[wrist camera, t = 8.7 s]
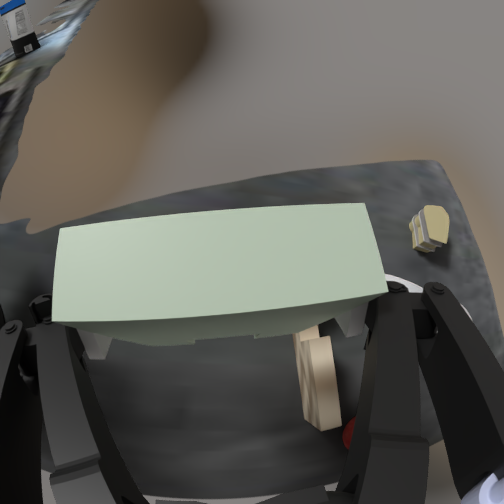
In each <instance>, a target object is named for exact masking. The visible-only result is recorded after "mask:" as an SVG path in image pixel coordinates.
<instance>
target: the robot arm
mask: <svg viewBox="0 0 504 504" xmlns="http://www.w3.org/2000/svg"><path fill="white" fill-rule="evenodd" d="M386 283H387V287H388V291H389V292H387V293H385V294H383V295H381V296H379V297H377V298H375V299H373V300H371V301H369V302H367V303H364V304H362V305H360V306H358V307H356V308H354V309H352V310H350V311H347V312H345V313H343V314H341V315H339V316H336V317H334V318H335V320H336V321H337V323H338V324H339V326H340V328H341V329H342V331H343V332H344V334H345V336H346V337H351V336H355V335H360V334H362V332H363V328H364V324H366V325H367V326H368V328H369V331H368V335H367V339H366V343H365V346H364V350H366V353H365V361H364V369H363V376H362V383H361V390H360V396H359V402H358V408H357V413H356V418H355V423H354V428H353V433H352V438H351V442H350V447H349V451H348V455H347V459H346V463H345V467H344V470H343V473H342V476H341V478H340V480H339V483H338V485H337V488H336V491H326V490H325V487H324V484H323V485H319V486H315V487H311V488H307V489H302V490H298V491H293V492H288V493H283V494H280V495H278V496H276V497H273V498H270V499H268V500H265V501H262V502H259V503H257V504H424V503H425V496H426V487H427V477H428V464H429V443H428V441H427V439H424V438H421V436H420V381H419V365H420V367H421V370H422V373H423V376H424V378H425V381H426V384H427V387H428V390H429V393H430V396H431V399H432V402H433V405H434V408H435V411H436V414H437V418H438V421H439V425H440V428H441V432H442V435H443V439H444V443H445V447H446V450H447V455H448V459H449V463H450V467H451V472H452V476H453V480H454V484H455V487H456V489H457V492H458V494H459V496H460V499H461V503H460V504H504V372H503V370H502V368H501V366H500V365H499V363H498V361H497V359H496V358H495V356H494V354H493V353H492V351H491V349H490V348H489V346H488V345H487V343H486V341H485V340H484V338H483V337H482V335H481V334H480V332H479V330H478V329H477V327H476V326H475V324H474V323H473V322H472V320H471V319H470V317H469V316H468V314H467V313H466V311H465V310H464V309H463V307H462V306H461V304H460V303H459V302H458V300H457V299H456V298H455V296H454V295H453V294H452V292H451V291H450V290H449V289H448V288H447V287H446V286H444V285H443V284H441V283H438V282H429V283H426V284H425V285H424V288H423V292H422V293H418V292H409V290H408V288H407V287H406V286H405V285H404V284H401V283H399V282H395V281H386ZM52 299H53V294H52V293H47V294H43V295H40V296H38V297H36V298H35V299H34V300H32V302H31V303H30V304H29V309H30V311H31V314H32V316H33V318H34V320H35V322H36V327H32V328H27V329H25V328H24V326H23V323H22V322H21V321H20V320H13V321H9V322H7V323H6V324H5V325H4V318H3V313H2V309H1V306H0V504H43V498H42V484H41V429H42V414H43V415H44V421H45V426H46V431H47V436H48V441H49V445H50V449H51V453H52V457H53V461H54V464H55V469H56V471H55V473H53V474H50V485H51V488H52V491H53V494H54V497H55V500H56V503H57V504H149V502H148V501H147V500H146V499H145V498H144V497H143V495H142V494H141V493H140V491H139V489H138V488H137V486H136V484H135V483H134V481H133V479H132V477H131V475H130V473H129V471H128V469H127V468H126V466H125V464H124V462H123V460H122V458H121V456H120V453H119V451H118V449H117V447H116V445H115V443H114V440H113V438H112V436H111V434H110V431H109V429H108V427H107V424H106V422H105V419H104V417H103V414H102V411H101V409H100V406H99V403H98V401H97V398H96V395H95V392H94V389H93V386H92V383H91V380H90V377H89V374H88V370H87V367H86V363H85V361H84V359H83V357H82V354H83V352H84V349H85V350H86V353H87V355H88V357H89V359H105V358H106V355H107V352H108V349H109V346H110V343H111V341H112V337H108V336H104V335H100V334H96V333H91V332H87V331H84V330H80V329H76V328H73V327H69V326H66V325H63V324H59V323H56V322H53V321H52ZM437 331H438V333H437ZM418 362H419V365H418ZM18 368H19V370H20V371H21V372H20V374H19V370H18ZM156 504H206V503H201V502H197V501H165V500H164V501H163V500H156Z"/></svg>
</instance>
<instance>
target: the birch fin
mask: <svg viewBox="0 0 504 504" xmlns="http://www.w3.org/2000/svg"><path fill="white" fill-rule="evenodd" d="M293 341H294V347H295V354H296V361H297V368H298V375H299V382H300V389H301V396H302V404H303V411H304V419H305V420H306V421H308V422H309V423H311V424H312V425H313V426H315V427H316V428H317V429H319V430H320V431H324V430H328V429H332V428H336V427H339V426H342V422H341V413H340V405H339V396H338V388H337V381H336V374H335V367H334V360H333V353H332V347H331V341H330V336H326V337H319V330H318V325H316V326H313V327H311V328H308V329H306V330H304V331H301V332H299V333H293Z"/></svg>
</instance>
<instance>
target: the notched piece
mask: <svg viewBox="0 0 504 504" xmlns="http://www.w3.org/2000/svg"><path fill="white" fill-rule="evenodd" d="M387 292H389V291H388V287H387V283H386V278H385V274H384V270H383V266H382V262H381V258H380V254H379V251H378V247H377V243H376V240H375V236H374V233H373V229H372V226H371V223H370V219H369V216H368V213H367V210H366V207H365V204H364V203H346V204H316V205H294V206H275V207H259V208H244V209H230V210H217V211H205V212H194V213H183V214H173V215H163V216H153V217H144V218H135V219H127V220H119V221H111V222H103V223H95V224H88V225H81V226H74V227H67V228H61V229H60V233H59V239H58V246H57V254H56V262H55V272H54V283H53V299H52V321H53V322H56V323H59V324H63V325H66V326H69V327H73V328H76V329H80V330H84V331H87V332H91V333H96V334H100V335H104V336H108V337H112V338H116V339H120V340H124V341H129V342H134V343H139V344H143V345H149V346H170V345H189V344H195V340H198V339H211V338H223V337H233V336H243V335H252V334H254V339H255V338H264V337H272V336H279V335H286V334H293V333H299V332H301V331H304V330H306V329H308V328H311V327H313V326H316V325H318V324H320V323H323V322H325V321H327V320H329V319H332V318H334V317H336V316H339V315H341V314H343V313H345V312H347V311H350V310H352V309H354V308H356V307H358V306H360V305H362V304H364V303H367V302H369V301H371V300H373V299H375V298H377V297H379V296H381V295H383V294H385V293H387Z"/></svg>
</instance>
